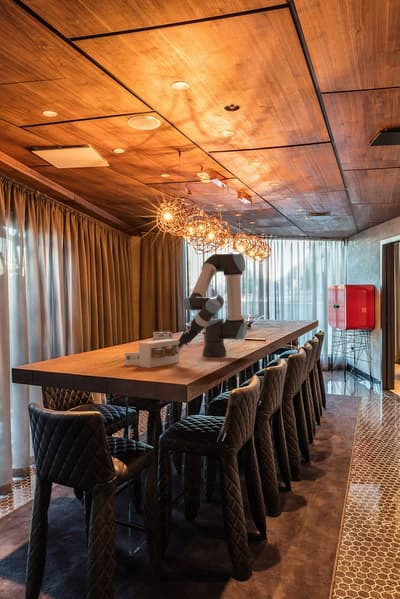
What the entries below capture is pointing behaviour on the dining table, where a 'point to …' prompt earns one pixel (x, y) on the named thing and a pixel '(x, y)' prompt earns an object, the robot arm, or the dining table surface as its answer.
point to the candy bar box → (162, 335)
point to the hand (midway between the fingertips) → (177, 350)
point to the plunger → (157, 353)
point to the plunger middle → (169, 351)
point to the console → (149, 361)
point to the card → (132, 358)
